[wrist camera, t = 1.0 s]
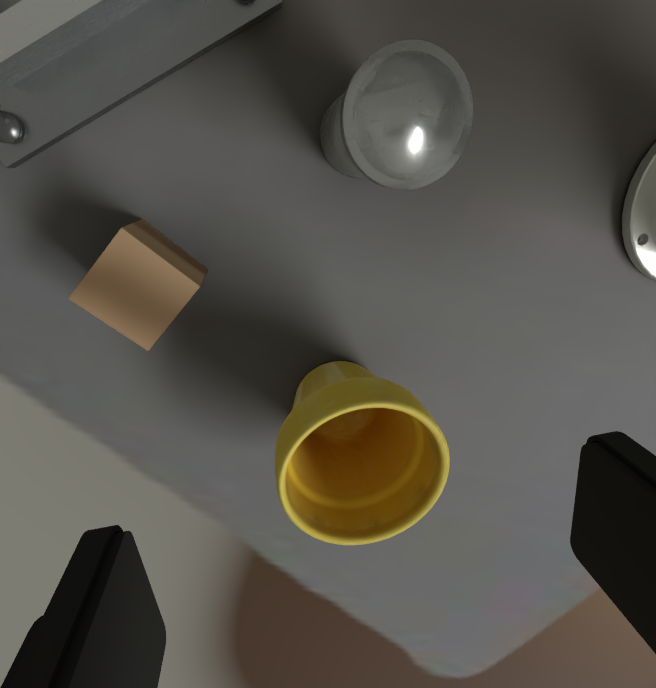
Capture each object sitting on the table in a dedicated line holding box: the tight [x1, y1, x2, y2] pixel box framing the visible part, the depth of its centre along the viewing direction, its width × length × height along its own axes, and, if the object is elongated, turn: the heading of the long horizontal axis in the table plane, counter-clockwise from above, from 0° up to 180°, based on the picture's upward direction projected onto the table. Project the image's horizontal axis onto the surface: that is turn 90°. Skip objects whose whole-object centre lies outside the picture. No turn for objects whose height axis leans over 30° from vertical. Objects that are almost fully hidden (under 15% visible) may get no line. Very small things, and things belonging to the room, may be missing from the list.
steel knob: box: [320, 39, 473, 190], centre depth 24 cm, size 6×6×10 cm
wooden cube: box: [68, 219, 208, 351], centre depth 27 cm, size 5×5×5 cm
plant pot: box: [275, 361, 450, 545], centre depth 31 cm, size 10×10×10 cm
